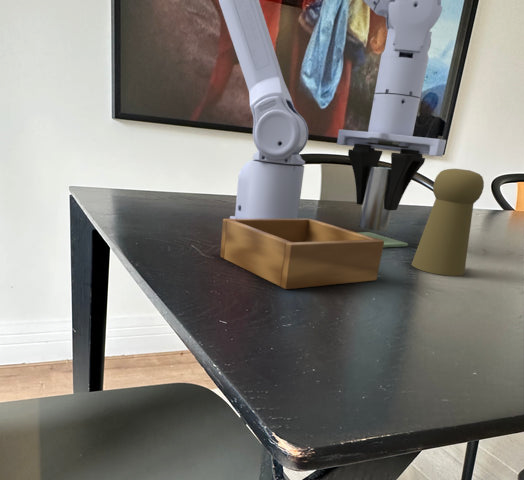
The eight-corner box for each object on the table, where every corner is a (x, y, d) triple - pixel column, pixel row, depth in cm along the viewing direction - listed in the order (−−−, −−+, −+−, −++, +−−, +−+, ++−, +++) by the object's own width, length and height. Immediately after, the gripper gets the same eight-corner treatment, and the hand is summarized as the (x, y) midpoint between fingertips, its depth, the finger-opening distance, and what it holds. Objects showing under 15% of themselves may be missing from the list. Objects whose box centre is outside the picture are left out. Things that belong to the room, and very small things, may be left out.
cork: (468, 278, 55) (497, 174, 51) (413, 270, 56) (437, 167, 52) (460, 266, 61) (485, 171, 56) (409, 259, 61) (430, 165, 57)
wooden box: (219, 257, 52) (222, 218, 51) (305, 252, 59) (309, 218, 57) (285, 289, 44) (291, 244, 42) (376, 280, 50) (384, 240, 49)
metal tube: (352, 226, 69) (363, 165, 66) (367, 224, 72) (377, 166, 69) (378, 232, 67) (390, 169, 64) (391, 230, 70) (404, 170, 67)
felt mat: (332, 235, 71) (332, 233, 71) (369, 234, 75) (369, 232, 75) (370, 248, 65) (370, 245, 65) (407, 246, 69) (408, 243, 69)
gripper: (332, 90, 64) (316, 199, 69) (439, 95, 56) (412, 218, 61) (359, 97, 69) (343, 197, 75) (461, 102, 61) (435, 215, 66)
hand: (376, 207), depth 68 cm, fingers closed on metal tube, 4 cm apart
